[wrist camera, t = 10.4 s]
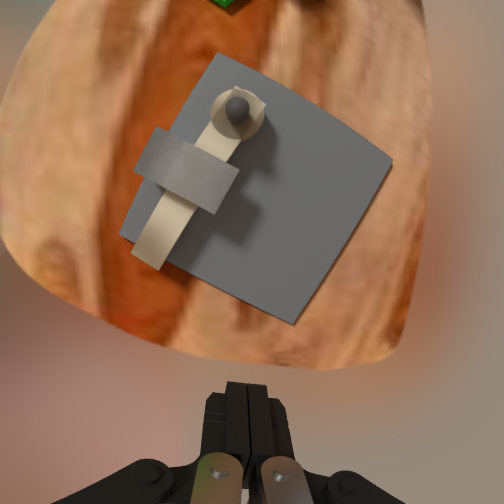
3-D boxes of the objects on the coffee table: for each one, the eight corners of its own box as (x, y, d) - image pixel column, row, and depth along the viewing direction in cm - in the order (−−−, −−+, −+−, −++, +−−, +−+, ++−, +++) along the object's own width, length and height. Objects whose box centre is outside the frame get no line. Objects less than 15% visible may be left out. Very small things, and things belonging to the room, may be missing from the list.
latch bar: (230, 86, 25) (229, 70, 20) (271, 111, 26) (278, 101, 21) (132, 242, 29) (114, 257, 24) (170, 266, 29) (158, 285, 25)
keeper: (168, 131, 26) (156, 126, 22) (239, 169, 28) (239, 169, 23) (148, 169, 27) (133, 171, 23) (217, 207, 29) (214, 214, 24)
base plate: (218, 55, 25) (217, 52, 25) (388, 159, 29) (393, 159, 28) (122, 232, 30) (118, 234, 29) (290, 319, 33) (292, 324, 32)
